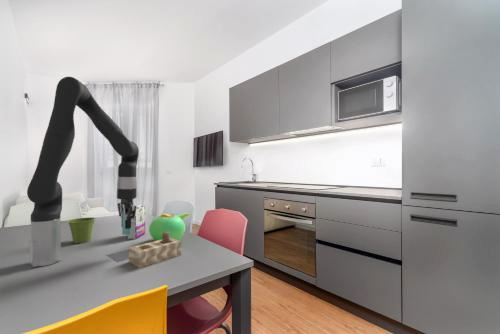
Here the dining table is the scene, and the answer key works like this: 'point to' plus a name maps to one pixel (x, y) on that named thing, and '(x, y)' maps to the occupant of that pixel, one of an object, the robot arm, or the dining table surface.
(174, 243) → the hole block
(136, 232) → the candy bar box
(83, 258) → the dining table surface
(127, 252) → the mat
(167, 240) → the walnut peg
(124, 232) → the teal peg
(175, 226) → the toy bird
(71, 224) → the plant pot
